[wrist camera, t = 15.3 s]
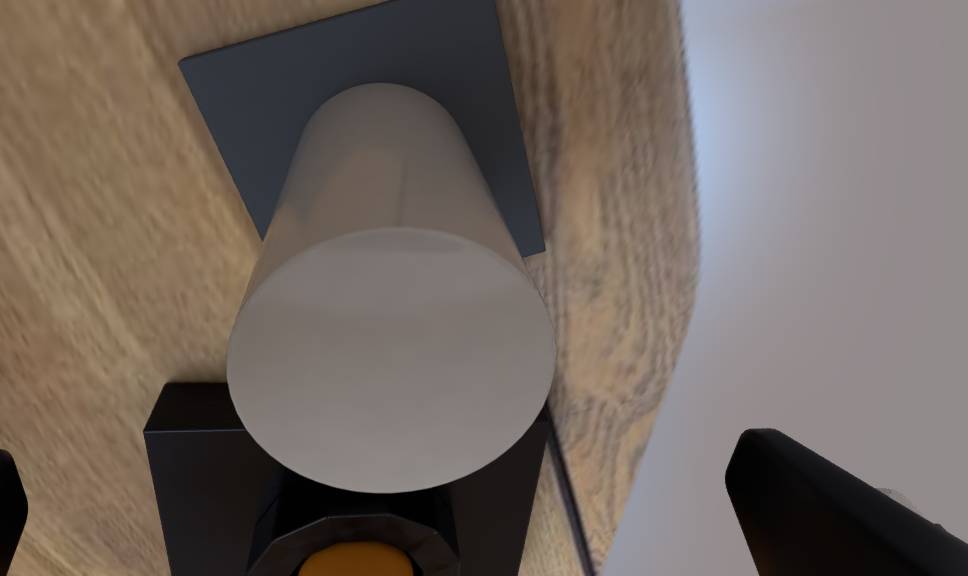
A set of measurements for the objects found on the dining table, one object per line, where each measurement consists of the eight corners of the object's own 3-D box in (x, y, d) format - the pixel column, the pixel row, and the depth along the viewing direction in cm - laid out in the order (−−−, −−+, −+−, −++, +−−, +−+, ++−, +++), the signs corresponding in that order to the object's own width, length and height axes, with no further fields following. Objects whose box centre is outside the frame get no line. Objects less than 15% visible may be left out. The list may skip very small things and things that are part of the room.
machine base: (535, 379, 21) (567, 462, 18) (499, 567, 26) (519, 662, 23) (164, 382, 19) (119, 479, 16) (198, 588, 24) (169, 697, 20)
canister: (479, 90, 16) (585, 235, 8) (462, 252, 18) (532, 489, 10) (292, 74, 15) (208, 220, 7) (298, 246, 17) (238, 501, 9)
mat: (541, 243, 19) (546, 251, 18) (302, 312, 19) (300, 322, 18) (485, -27, 15) (489, -26, 14) (182, 58, 15) (176, 62, 14)
